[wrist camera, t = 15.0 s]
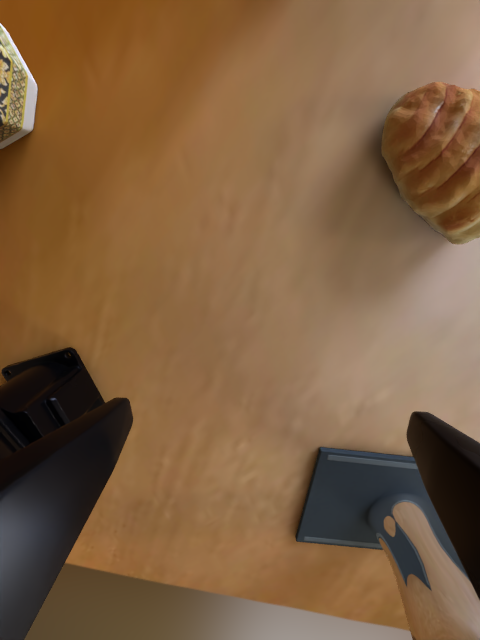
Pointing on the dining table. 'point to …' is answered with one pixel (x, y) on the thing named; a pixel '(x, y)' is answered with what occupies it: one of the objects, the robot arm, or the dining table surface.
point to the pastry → (437, 157)
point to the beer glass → (425, 569)
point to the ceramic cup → (15, 93)
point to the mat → (354, 495)
